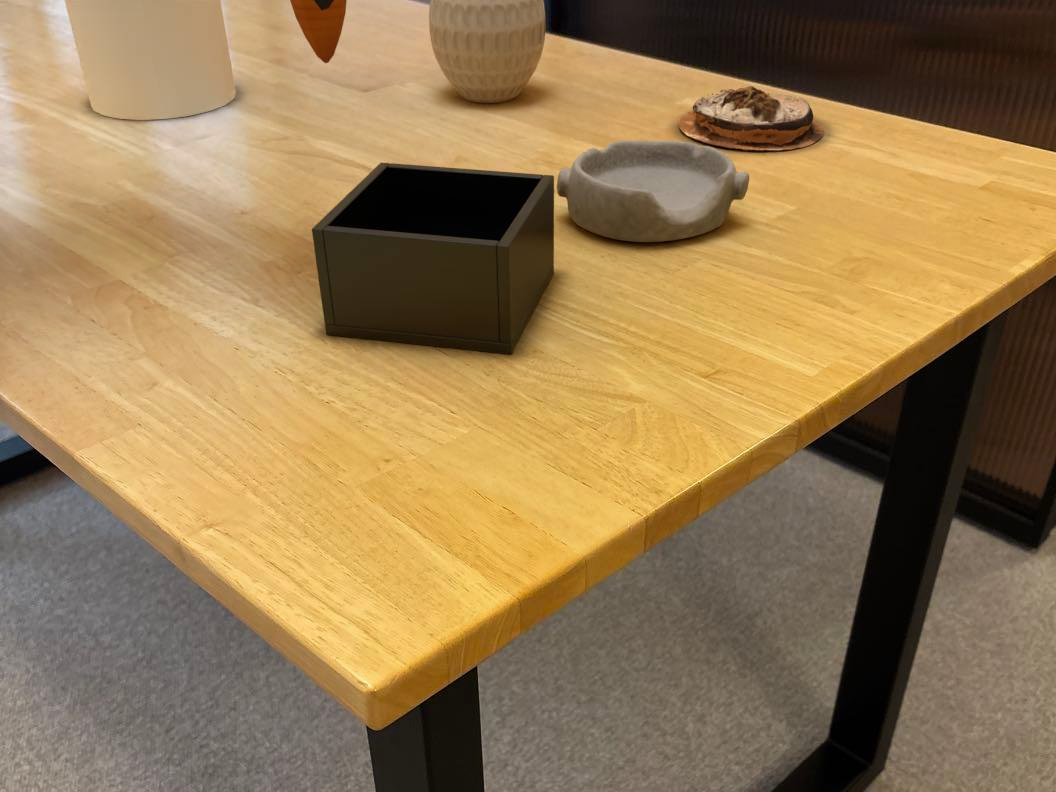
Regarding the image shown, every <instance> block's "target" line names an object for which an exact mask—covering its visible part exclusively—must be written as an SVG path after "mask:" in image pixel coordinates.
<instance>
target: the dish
mask: <svg viewBox="0 0 1056 792" xmlns="http://www.w3.org/2000/svg"><path fill="white" fill-rule="evenodd" d="M557 175H558V176H557V180H556V192H557V195H558V196H559V197H562V198H565V199H566V203H567V211H568V215H569V217H570V219H572V221H573V222H574V223H575V224H576V225H577V226H579V227H581V228H583V229H584V230H586V231H588V232H590V233H593V234H595V235H598V236H601V237H605V238H609V239H613V240H619V241H625V242H626V241H627V242H635V243H656V242H671V241H678V240H682V239H688V238H693V237H697V236H700V235H702V234H706V233H709V232H711V231H713V230H715V229H717V228H718V227H720V226H721V225H722V224H723V223H725V221H726V219H727V217H728V214H729V212H730V209H731V205H732V203H733V201H742V200H743V199H744V198H745V196H746V194H747V191H748V189H749V183H750V174H749V173H748V171H737V169H736V167H735V164H734V161H733V160H732V159H731V158H730V156H729V155H727V154H726V153H724V152H723V151H721V150H718V149H717V148H715V147H711V146H708V145H699V144H696V143H695V142H690V141H683V140H682V141H681V140H616V141H612V142H611V143H610V144H608V145H607V146H606V147H605V148H603V149H598V148H595V147H592V148H589V149H587V150H586V151H583V152H581V153H580V154H579V155H578V156H577V157H576V158H575V160H574V161H573V163H572V165H571V167H570V168H569V169H567V168H564V167H563V168H561V170H560V171H559V172H558V174H557Z"/></svg>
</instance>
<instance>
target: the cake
mask: <svg viewBox="0 0 1056 792" xmlns="http://www.w3.org/2000/svg"><path fill="white" fill-rule="evenodd" d="M719 93H720V94H718V93H716V94H714V92H713V93H711V95H712V96H709V95H710V94H707V96H709V97H704V96H701V98H698V99H697V100H696V101H695V102H694V103H693V106H692V111H690V112H688V113H686V114H684V115H683V116H681V118H680V119H679V121H678V128H679V129H680V130H681V131H682V133H683V134H685V135H686V136H687V137H690V138H692V139H694V140H697V141H700V142H701V143H703V144H709V145H713V146H717V147H718V146H719V147H723V148H726V149H727V148H728V149H737V150H738V149H739V150H743V151H745V152H748V151H751V152H752V151H783V150H788V151H789V150H795V149H798V148H806V147H808V146H811V145H813V144H815V143H816V142H818V141H819V140H821V139H822V138H823V137H824V132H825V129H824V128H823V126H822V125H821V123H819V122H817V121H816V120H815V119H814V112H813V109H812V107H811V105H810V103H809V102H808V100H807V99H804V98H802V97H796V96H795V95H793V94H792V95H787V94H782V93H772V94H771V93H770V92H765V91H763V90H761V89H758V88H757V87H755V86H754V85H753V86H752V85H747V86H745V87H740V88H739V87H738V89H733V88H728V89H720V90H719Z"/></svg>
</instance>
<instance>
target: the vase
mask: <svg viewBox="0 0 1056 792" xmlns="http://www.w3.org/2000/svg"><path fill="white" fill-rule="evenodd" d="M546 20H547V19H546V9H545V2H544V0H430V1H429V7H428V27H429V30H428V31H429V36H430V45H431V47H432V51H433V54H434V58H435V60H436V62H437V64H438V66H439V68H440V70H441V72H442V73H443V75H444V76H445V78H446V79H447V81H448V83H449V84H450V86H452V87H453V88H454V90H455V91H456V92H457V93H458V94H459V95H460V96H461V97H462V98H463V99H464V100H466V101H468V102H472V103H476V104H477V103H478V104H496V103H497V104H498V103H499V104H500V103H504V102H509V101H511V100H514V99H515V98H516V97H517V96H518V95H519V94H520V93H521V92H522V91H523V90H524V89H525V87H526V86H527V84H528V83H529V82H530V81H531V79H532V77H533V75H534V73H535V72H536V70H537V67H538V65H539V62H540V61H541V58H542V56H543V55H542V54H543V51H544V46H545V41H546V32H547V31H546V29H547V27H546V23H547V21H546Z"/></svg>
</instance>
